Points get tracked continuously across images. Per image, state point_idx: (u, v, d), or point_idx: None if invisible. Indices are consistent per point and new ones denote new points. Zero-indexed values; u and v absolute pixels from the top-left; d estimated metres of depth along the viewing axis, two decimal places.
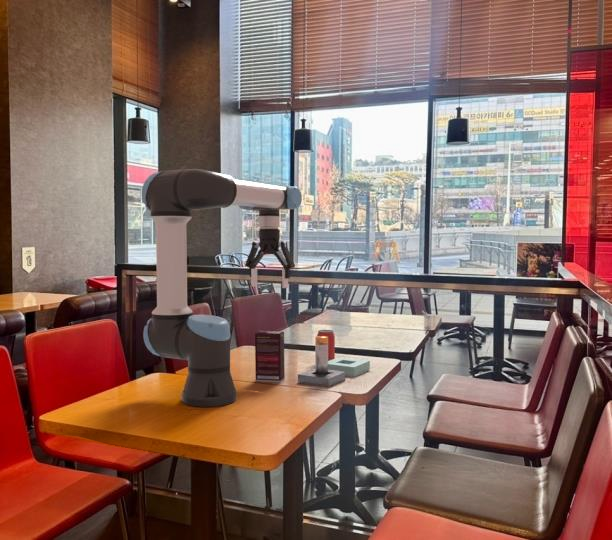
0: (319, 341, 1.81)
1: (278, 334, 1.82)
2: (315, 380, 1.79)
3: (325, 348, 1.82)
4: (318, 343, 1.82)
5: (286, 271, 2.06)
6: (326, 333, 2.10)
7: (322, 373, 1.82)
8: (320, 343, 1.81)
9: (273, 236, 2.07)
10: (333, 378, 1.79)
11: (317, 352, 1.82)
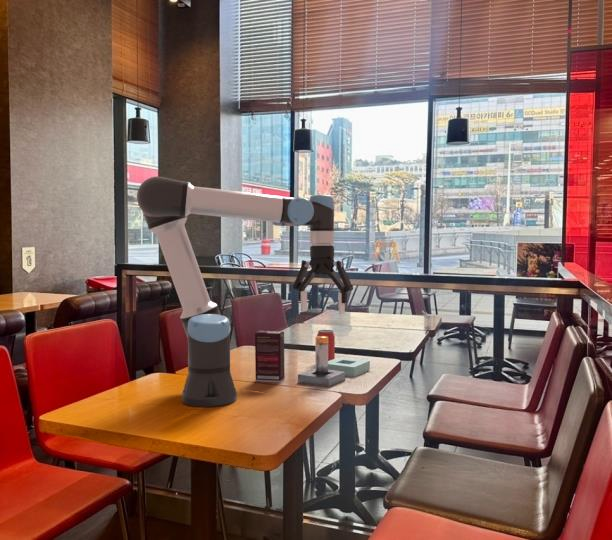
0: (319, 341, 1.82)
1: (278, 334, 1.82)
2: (315, 380, 1.79)
3: (325, 348, 1.82)
4: (318, 343, 1.82)
5: (343, 295, 1.78)
6: (326, 333, 2.10)
7: (322, 373, 1.82)
8: (320, 343, 1.81)
9: (327, 254, 1.79)
10: (333, 378, 1.79)
11: (317, 352, 1.82)
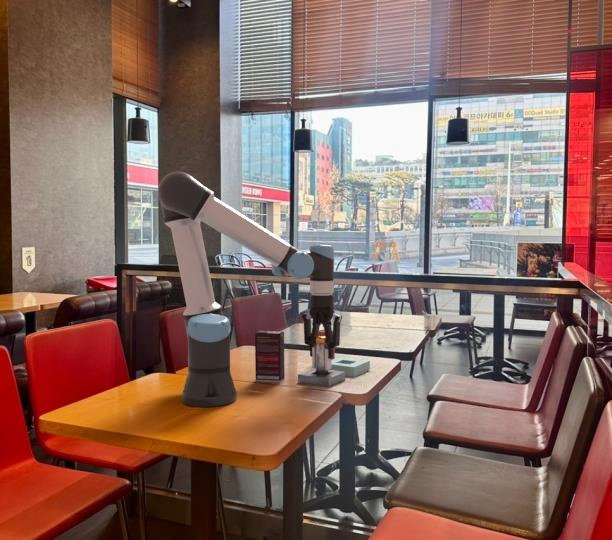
0: (319, 341, 1.82)
1: (278, 334, 1.82)
2: (315, 380, 1.79)
3: (325, 347, 1.82)
4: (318, 343, 1.82)
5: (329, 350, 1.81)
6: None
7: (322, 373, 1.82)
8: (320, 343, 1.82)
9: (327, 304, 1.79)
10: (333, 378, 1.79)
11: (317, 352, 1.82)
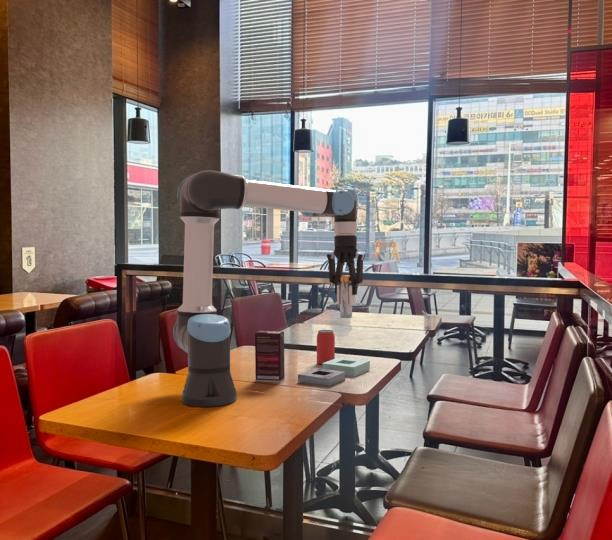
0: (343, 279, 1.94)
1: (278, 334, 1.82)
2: (315, 380, 1.79)
3: (349, 285, 1.94)
4: (342, 281, 1.94)
5: (353, 287, 1.94)
6: (326, 333, 2.10)
7: (346, 309, 1.95)
8: (344, 281, 1.94)
9: (351, 243, 1.92)
10: (333, 378, 1.79)
11: (342, 289, 1.95)
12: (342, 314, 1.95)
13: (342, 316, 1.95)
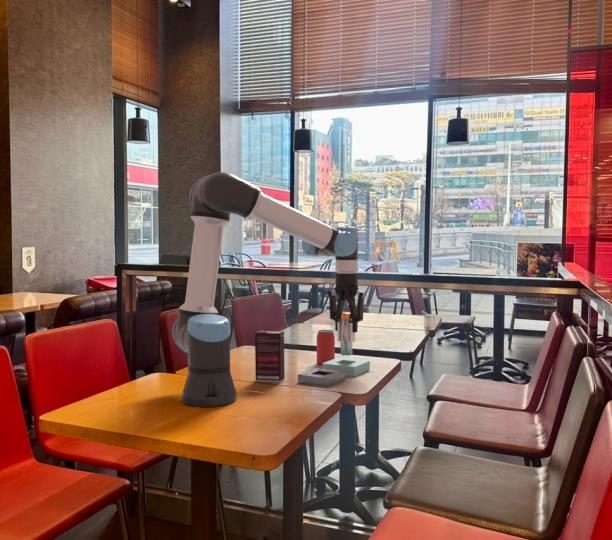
0: (344, 317, 1.96)
1: (278, 334, 1.82)
2: (315, 380, 1.79)
3: (349, 323, 1.96)
4: (343, 319, 1.96)
5: (354, 325, 1.95)
6: (326, 333, 2.10)
7: (347, 346, 1.96)
8: (345, 319, 1.96)
9: (352, 281, 1.94)
10: (333, 378, 1.79)
11: (342, 327, 1.96)
12: (342, 351, 1.97)
13: (342, 353, 1.97)
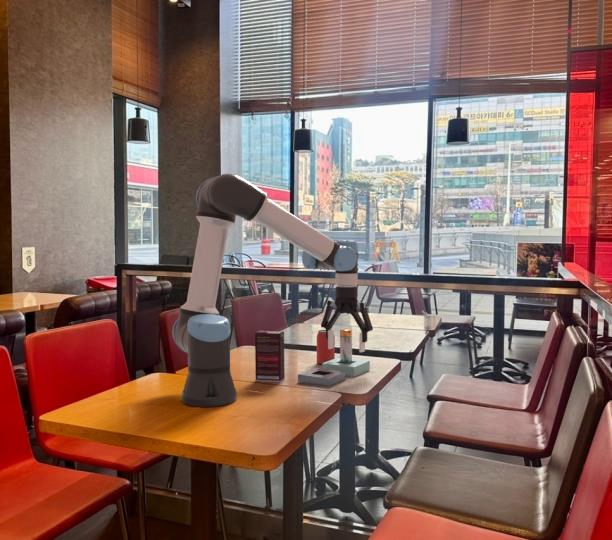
0: (344, 334, 1.96)
1: (278, 334, 1.82)
2: (315, 380, 1.79)
3: (349, 340, 1.96)
4: (343, 336, 1.96)
5: (364, 334, 1.94)
6: None
7: (346, 363, 1.96)
8: (344, 336, 1.96)
9: (352, 295, 1.94)
10: (333, 378, 1.79)
11: (342, 344, 1.97)
12: None
13: None
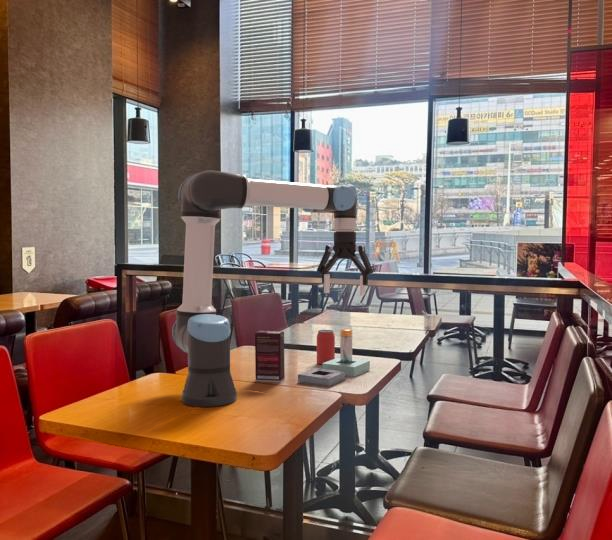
0: (344, 334, 1.96)
1: (278, 334, 1.82)
2: (315, 380, 1.79)
3: (349, 340, 1.96)
4: (343, 336, 1.96)
5: (364, 277, 1.92)
6: (326, 333, 2.10)
7: (346, 363, 1.96)
8: (345, 335, 1.96)
9: (350, 239, 1.93)
10: (333, 378, 1.79)
11: (342, 344, 1.97)
12: None
13: None
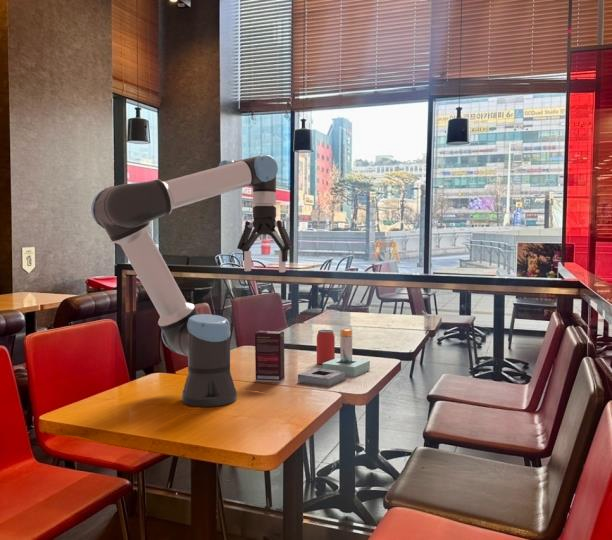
0: (344, 334, 1.96)
1: (278, 334, 1.82)
2: (315, 380, 1.79)
3: (349, 340, 1.96)
4: (343, 335, 1.96)
5: (283, 253, 1.84)
6: (326, 333, 2.10)
7: (346, 363, 1.96)
8: (345, 335, 1.96)
9: (269, 214, 1.84)
10: (333, 378, 1.79)
11: (342, 344, 1.97)
12: None
13: None
